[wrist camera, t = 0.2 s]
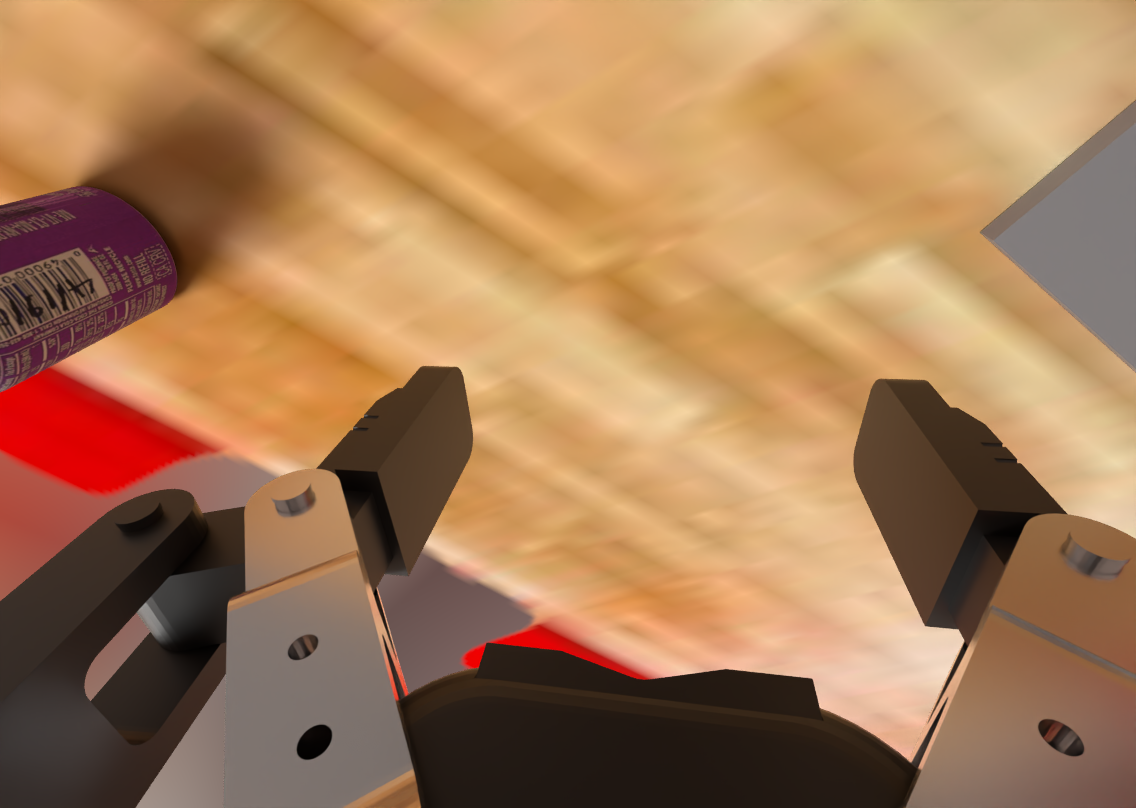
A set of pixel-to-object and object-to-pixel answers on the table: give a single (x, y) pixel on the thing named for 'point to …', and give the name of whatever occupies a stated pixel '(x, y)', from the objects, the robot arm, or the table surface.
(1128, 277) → the high shelf
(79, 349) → the beverage can
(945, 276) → the table surface
